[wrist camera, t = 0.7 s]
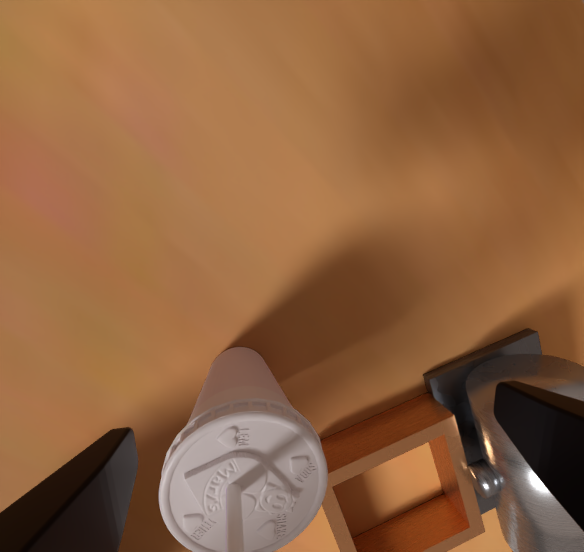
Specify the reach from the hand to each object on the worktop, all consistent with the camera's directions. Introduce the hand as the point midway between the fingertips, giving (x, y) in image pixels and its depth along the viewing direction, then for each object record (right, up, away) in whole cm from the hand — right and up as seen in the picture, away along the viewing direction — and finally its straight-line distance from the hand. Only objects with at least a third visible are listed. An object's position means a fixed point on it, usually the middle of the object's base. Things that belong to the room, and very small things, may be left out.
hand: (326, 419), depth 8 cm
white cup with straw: (-4, -3, +14) cm, 15 cm away
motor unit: (+10, -10, +18) cm, 23 cm away
